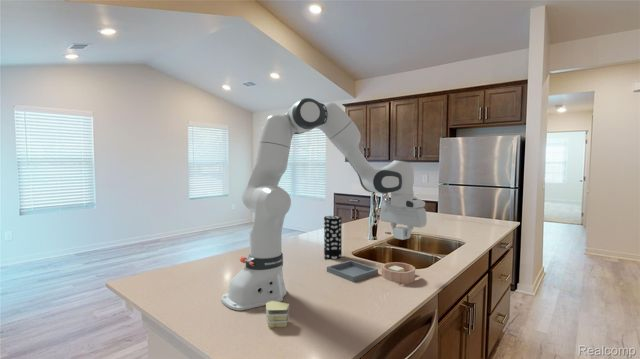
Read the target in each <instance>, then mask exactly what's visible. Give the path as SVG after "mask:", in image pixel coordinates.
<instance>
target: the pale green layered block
mask: <svg viewBox="0 0 640 359" xmlns="http://www.w3.org/2000/svg"><path fill="white" fill-rule="evenodd" d="M289 306H290V303H286V302H282V301H281V302H276V301H270V302H268V303H266V305H265V316H266V317H265V319H266V322H267V327H268V328H275V326H276V328H277V327H278V328H286V327H287V325H288V323H289V318H290V314H289V311H290V307H289Z"/></svg>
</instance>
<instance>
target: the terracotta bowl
mask: <svg viewBox="0 0 640 359" xmlns="http://www.w3.org/2000/svg"><path fill="white" fill-rule="evenodd" d="M382 264H383V265H382V266H381V277H382V278H383V279H384V280H385V281H390V282H393V283H394V282H395V283H399V285H410V284H413V283H415V281H416V267H415V266H414V265H412V264H409V263H405V262H396V261H395V262H387V263H382ZM392 266H398V267H402V268H404V272H395V271H390V270H388V268H389V267H392Z"/></svg>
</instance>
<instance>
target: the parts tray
mask: <svg viewBox="0 0 640 359" xmlns="http://www.w3.org/2000/svg"><path fill="white" fill-rule="evenodd" d="M326 273H329V274H332V275H333V276H337V277H339V278H341V279H344V280H347V281H349V282H352V283H355V282H358V281H361V280H364V279H367V278H370V277H373V276H376V275H378V274H379V269H378V268H376V267H373V266H370V265H367V264H365V263H364V264H363V263H362V262H361V263H360V262H358V261H354V260H347V261H343V262H339V263H336V264H333V265H329V266H326Z"/></svg>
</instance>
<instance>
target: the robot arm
mask: <svg viewBox="0 0 640 359" xmlns="http://www.w3.org/2000/svg"><path fill="white" fill-rule="evenodd" d="M315 128H317V129H318V130H320V131H321V132H323V134H325V136H326V137H327V139H328V140H329V141H330V142H331V143H332V144H333V146H334V147H335V148H336V149H337V150H338V151H339V152H340V153H341V154H342V155H343V157H345V159H346V160H347V161H348V163H349V164H350V166H351V167H352V168H353V170H354V171H355V172H356V174H357V176H358V180H359V183H360V185H361V187H362V188H363V189H364V190H365V191H366V192H368V193H376V194H383V195H384V194H389V193H390V199H388V198H385V199H383V200H382V201H381V205H380V206H381V207H380V212H379V219H380V221H381V222H385V223H390V226H391V228H392V233H393V235H394V228H396V227H397V225H403V226H407V227H406V228H409V229H408V231H407V232H405V236H406V237H410V238H411V236H412V231H413V229H414V228H419V229H422V228H424V227H426V225H427V222H428V221H427V212H426V209H425V207H426V201H424V200H422V199H420V198H418V197H416V196H414V188H413V186H414V183H415V182H414V181H415V180H414V179H415V177H414V176H415V175H414V167H413V164H412V162H410V161H407V160H401V159H394V160H392V162H391V163H389V164H388V165H386V166H382V167H380V168H376V167H374V166H373V165H371V164H370V163H369V161H368V160H367V159H366V157H365V156H364V154H363V153H362V151H361V150H360V142H361V138H362V136H361V132H360V130H359V129H358V126H357V125H356V124H355V122H354V121H353V119H351V117H350V116H349V114H347V113H346V111H344V110H343V109H342V108H341V107H340V106H339V105H338V104H337V103H336V102H332V101H329V102H325V103H321V102H319V101H318V100H316V99H313V98H308V97H305V98H301V99H298V101H296V102H294V103H293V104H292V105H291V106H290V107H289V109H288V110H287V111H286V112H285V113H284V114H280V113H274V114H270V115H269V116H268V117H266V119H265V121H264V124H263V127H262V130H261V132H260V136H259V143H258V147H257V153H256V158H255V161H254V162H255V163H254V166H253V169H252V171H251V172H252V173H251V175H250V178H249V180H248V183H247V186H246V188H245V189H243V192H242V196H241V199H242V203H243V205H244V207H246V209H247V210H248V211H249V212H252V213H254V218H253V219H254V220H253V225H252V228H251V230H250V232H249V255H248V257H246V256H241V257H240V258H239V262H241V264H242V263H243V264H245V266H244V267H243V268H242V269H241V270H240V271H239V272H238V273H237V274H236V275H235V276H233V278H232V279H231V280H230V281H229V284H228V289H227V290H228V291H227V292H226V293H223V294H222V296H221V302H222V303H223V305H224V306H226V307H227V308H229V309H231V310H234V311H235V310H236V311H245V310H248V309H249V310H250V309H254V308H258V307H263V306H266V303H268V302H270V301H276V302H282V301H284V297H285V296H286V295H287V288H286V283H285V278H284V272H283V264H284V253H283V252H282V248H283V247H282V246H283V245H282V243H283V242H282V238H283V237H282V233H283V226H284V221H285V218H286V215H287V214H288V212H289V211H290V208H291V207H292V206H291V205H292V199H291V196H290V195H289V193H288V192H287V191H286V190H285V189H284V188H282V187H280V186H279V183H280V182H281V179H282V177H283V175H284V174H285V173H286V171H287V169H288V168H287V167H288V163H289V156H290V152H291V144H292V139H293V136H294V135H301V134H305V133H308V132H311V131H312V130H314V129H315Z"/></svg>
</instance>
